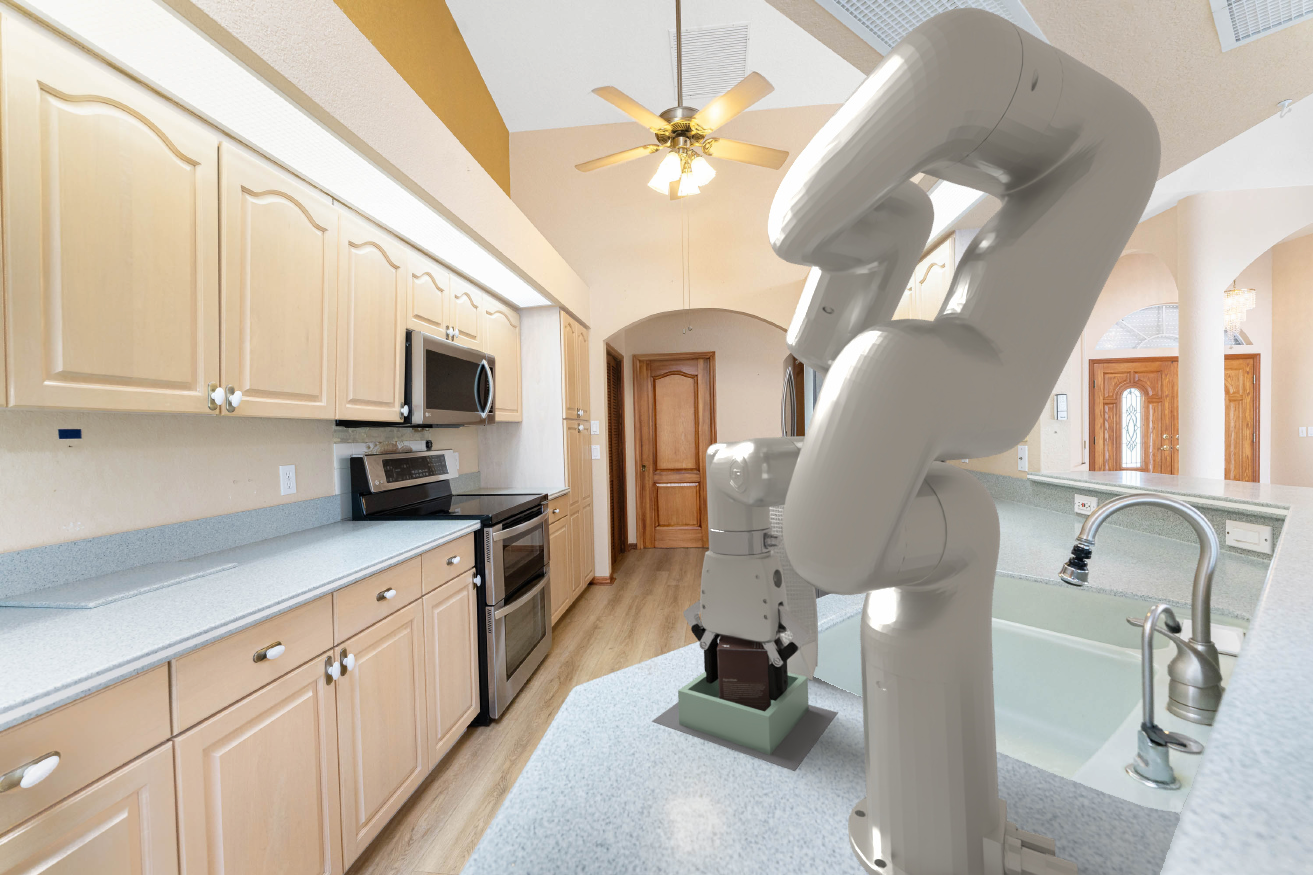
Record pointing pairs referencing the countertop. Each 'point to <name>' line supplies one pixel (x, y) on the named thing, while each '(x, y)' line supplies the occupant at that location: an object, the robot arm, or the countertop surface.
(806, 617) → the skyscraper
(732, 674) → the box
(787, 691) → the crate
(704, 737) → the mat
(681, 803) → the countertop surface
